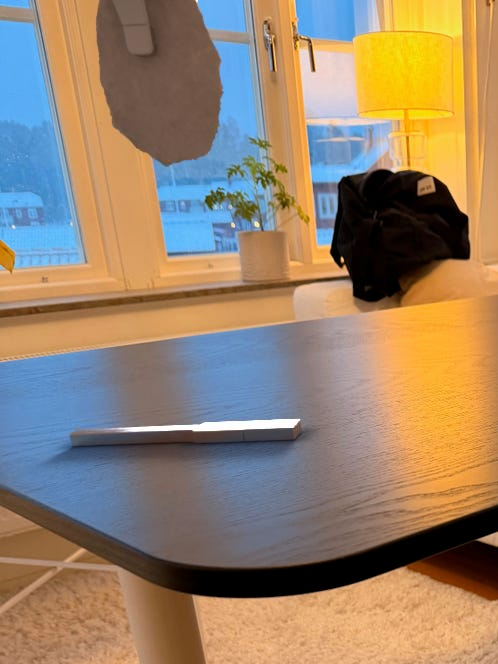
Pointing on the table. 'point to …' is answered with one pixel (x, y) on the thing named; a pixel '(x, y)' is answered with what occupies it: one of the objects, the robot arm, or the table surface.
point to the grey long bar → (191, 433)
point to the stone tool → (162, 81)
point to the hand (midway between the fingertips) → (151, 58)
